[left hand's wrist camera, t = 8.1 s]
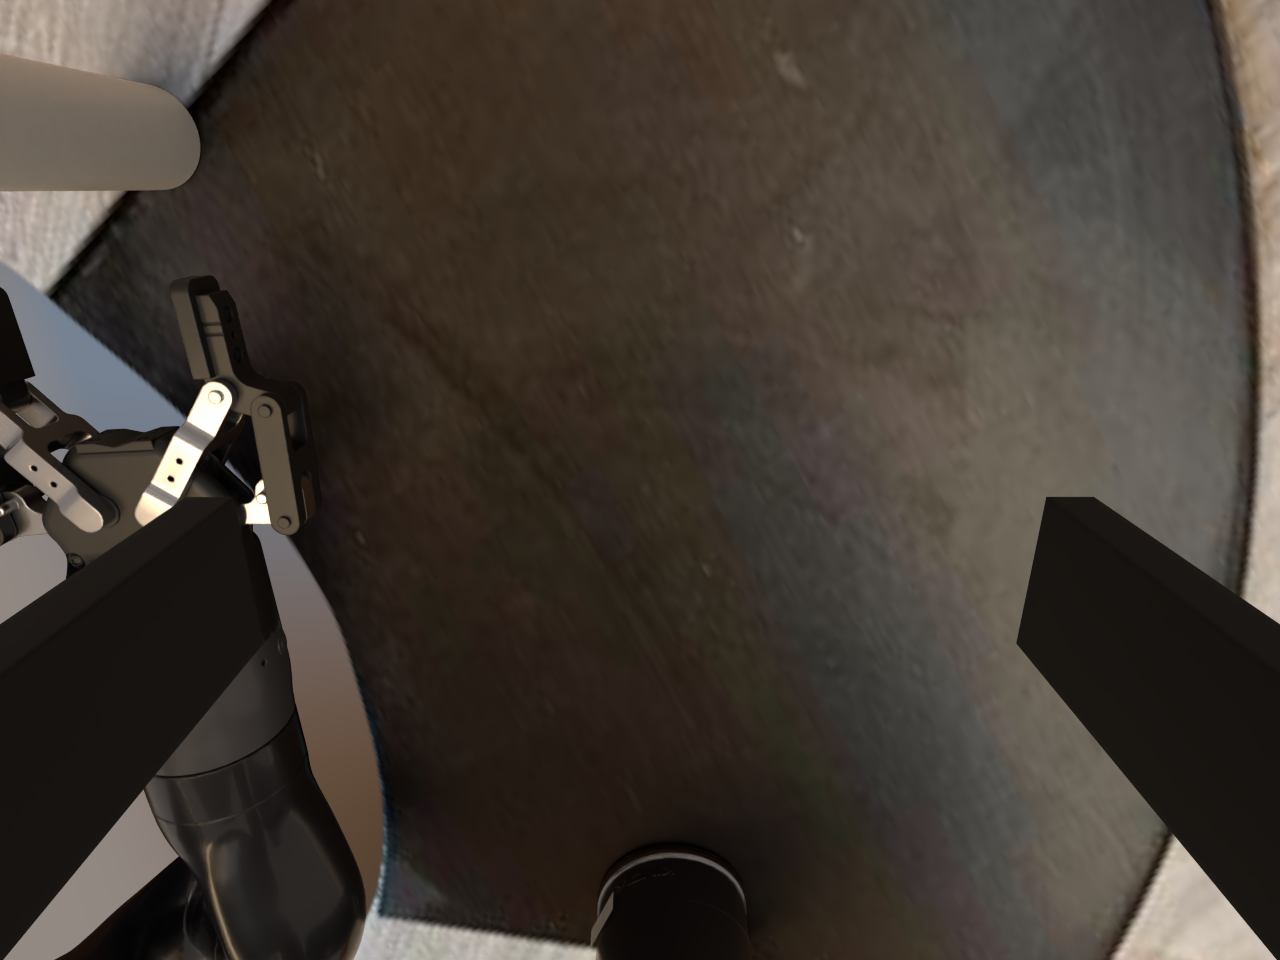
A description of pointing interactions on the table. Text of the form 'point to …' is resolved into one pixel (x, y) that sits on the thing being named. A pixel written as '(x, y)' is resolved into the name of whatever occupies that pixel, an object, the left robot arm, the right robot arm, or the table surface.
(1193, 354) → the table surface
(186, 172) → the beige cylindrical rod
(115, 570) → the left robot arm
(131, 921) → the right robot arm
